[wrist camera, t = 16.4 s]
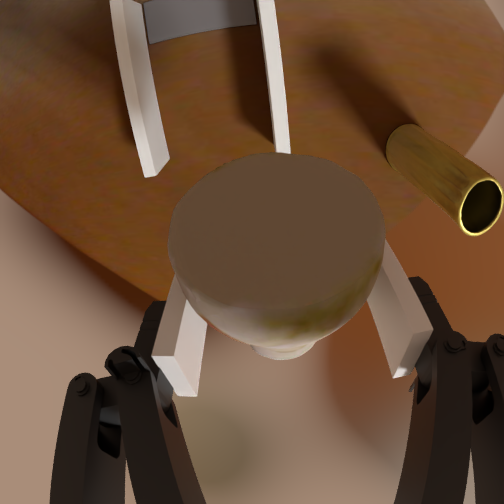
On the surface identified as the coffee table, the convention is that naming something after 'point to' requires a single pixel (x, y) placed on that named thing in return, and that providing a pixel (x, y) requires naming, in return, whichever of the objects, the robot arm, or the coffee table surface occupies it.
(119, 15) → the channel
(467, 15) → the coffee table surface
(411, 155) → the vase
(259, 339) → the mug
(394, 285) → the robot arm
